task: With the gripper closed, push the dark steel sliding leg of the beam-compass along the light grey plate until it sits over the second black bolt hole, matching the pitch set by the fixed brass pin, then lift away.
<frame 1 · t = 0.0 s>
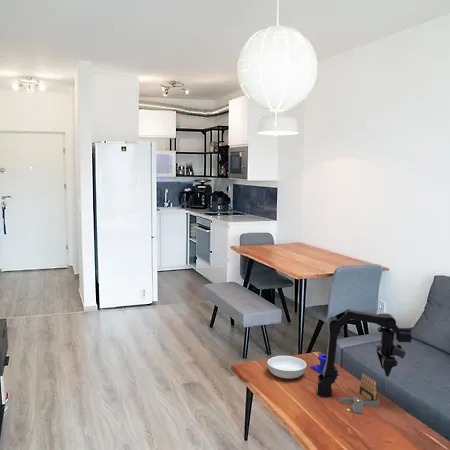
hand: (385, 372, 222), 15 cm above the table, fingers open, 9 cm apart
serving bowl: (286, 375, 251), on the table
sliding leg: (357, 403, 213), point 4 cm above the table, slide at 0.0 cm
ammunition clip: (367, 400, 225), on the table
hole plate: (361, 412, 213), on the table
mount: (324, 372, 257), on the table
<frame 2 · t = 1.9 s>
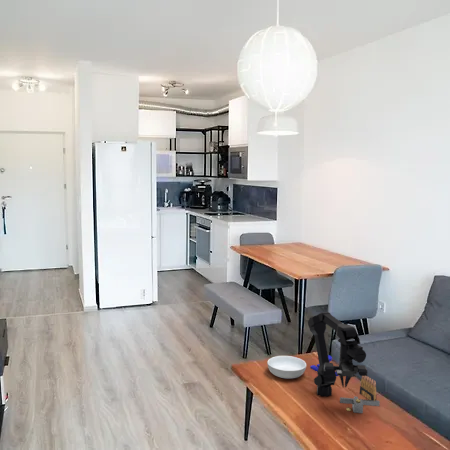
hand: (344, 387, 211), 12 cm above the table, fingers closed
nothing on the table moved.
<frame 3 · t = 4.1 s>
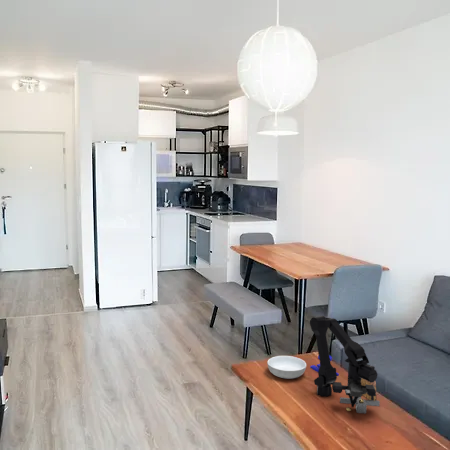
hand: (352, 406, 212), 3 cm above the table, fingers closed
sliding leg: (360, 403, 213), point 4 cm above the table, slide at 1.5 cm, touching gripper
everything else where it was.
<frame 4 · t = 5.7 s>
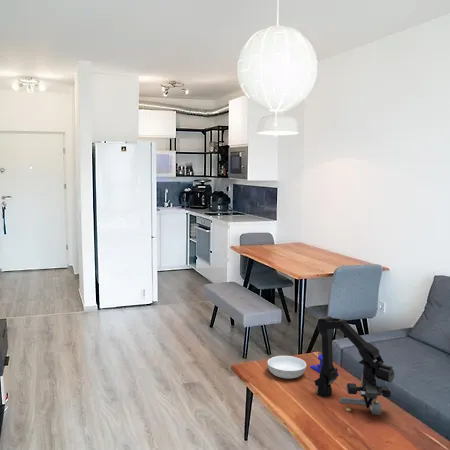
hand: (367, 407, 211), 3 cm above the table, fingers closed
sliding leg: (375, 404, 213), point 4 cm above the table, slide at 8.0 cm, touching gripper
everything else where it was.
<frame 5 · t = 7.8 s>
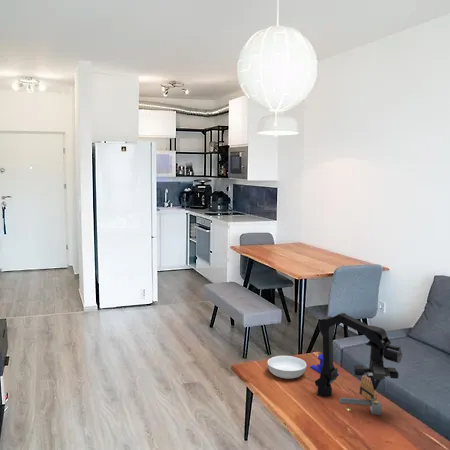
hand: (374, 389, 210), 12 cm above the table, fingers closed
sliding leg: (375, 404, 213), point 4 cm above the table, slide at 8.0 cm
everything else where it was.
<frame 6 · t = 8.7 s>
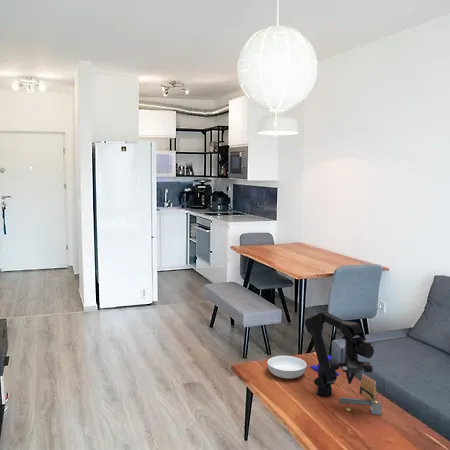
hand: (349, 383, 213), 13 cm above the table, fingers closed
nothing on the table moved.
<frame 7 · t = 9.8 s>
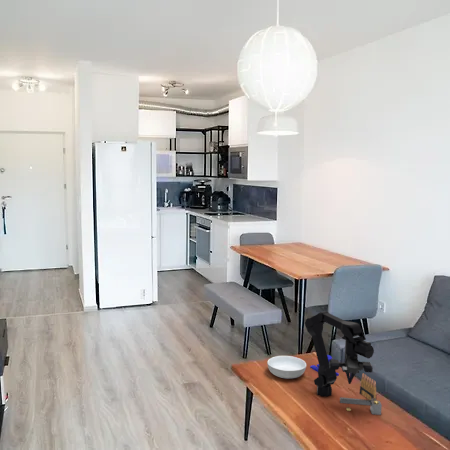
hand: (349, 383, 213), 13 cm above the table, fingers closed
nothing on the table moved.
at the end: sliding leg slide at 8.0 cm; sliding leg 1.0 cm from the target spot, point 3.9 cm above the table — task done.
